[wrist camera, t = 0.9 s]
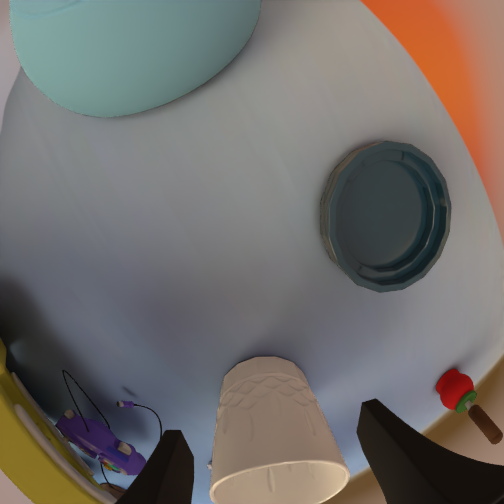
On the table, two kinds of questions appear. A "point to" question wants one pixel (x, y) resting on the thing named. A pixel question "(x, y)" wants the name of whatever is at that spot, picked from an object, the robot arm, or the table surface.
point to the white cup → (273, 439)
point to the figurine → (112, 491)
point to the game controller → (101, 440)
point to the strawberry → (466, 402)
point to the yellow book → (40, 450)
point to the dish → (385, 215)
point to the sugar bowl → (126, 49)
